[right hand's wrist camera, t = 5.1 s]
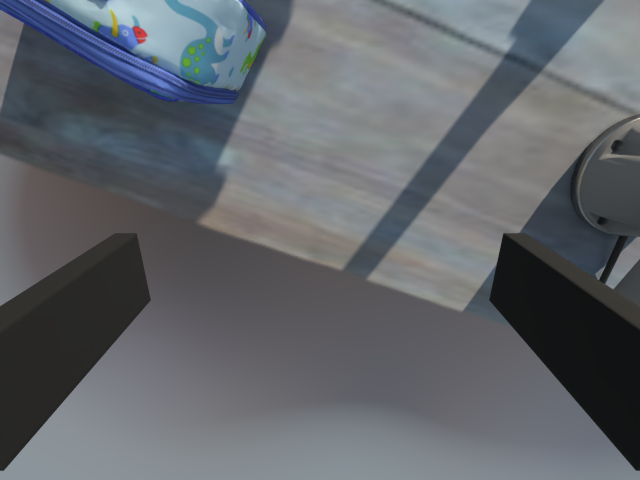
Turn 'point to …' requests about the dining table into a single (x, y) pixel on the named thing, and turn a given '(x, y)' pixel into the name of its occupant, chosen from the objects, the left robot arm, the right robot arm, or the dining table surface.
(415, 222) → the dining table surface
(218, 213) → the dining table surface
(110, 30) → the lunch box
